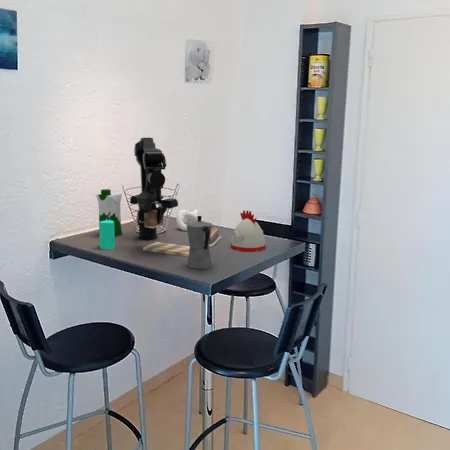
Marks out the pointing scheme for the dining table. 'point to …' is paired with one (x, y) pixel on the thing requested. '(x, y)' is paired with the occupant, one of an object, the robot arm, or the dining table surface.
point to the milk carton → (110, 208)
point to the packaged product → (214, 237)
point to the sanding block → (151, 219)
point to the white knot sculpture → (186, 218)
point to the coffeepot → (199, 244)
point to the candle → (107, 234)
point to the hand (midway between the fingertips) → (154, 223)
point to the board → (168, 248)
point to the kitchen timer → (248, 235)
